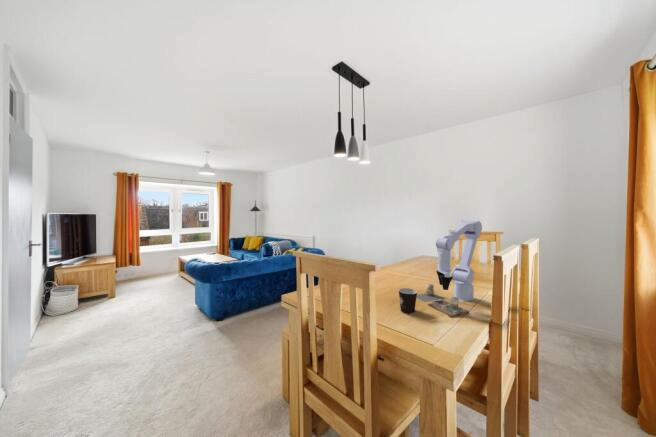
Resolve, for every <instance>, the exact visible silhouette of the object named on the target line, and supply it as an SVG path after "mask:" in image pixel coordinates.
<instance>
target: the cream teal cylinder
mask: <svg viewBox="0 0 656 437" xmlns="http://www.w3.org/2000/svg"><path fill="white" fill-rule="evenodd" d="M452 296H453V295H450V296H449V297H448V302H449V309H451V310H453V311H457V310H458V307H459V300H458V298H457V297H452Z"/></svg>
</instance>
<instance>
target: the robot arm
mask: <svg viewBox="0 0 656 437" xmlns="http://www.w3.org/2000/svg"><path fill="white" fill-rule="evenodd" d="M482 225H483V224H482V223H481V221H480V220H476V221H475V220H463V219H462V220H460V221H459V223H458V226H457V228H456V229H455V230H450V231H449V232H448V233H447V234H445V235H444V236H443V237H439V238H437V240H436V241H435V242H436V243H435V247H436V249H437V252H438V253H437V255H438V258H437V260H438V261H437V268H435V271H436V274H437V277H438V278H437V279H438V282H439V285H440V286H441V287H442V290H444V291H448V290H449V288H450V284H451V281H453V283H454V292H453V295H451V296H452V297H457V298H458V301H460V302H467V301H468V302H469V301H475V298H474V295H475V294H474V291H475V290H474V286H473V282H474V279H475V278H474V277H475V274H474V272H475V271H474V270H473V269H472V268H471V265H472V264H471V263H472V260H473V257H474V252H475V248H476V244H477V241H478V239H479V238H480V237H481V233H482V230H483V226H482ZM462 235H463V236H464V237H465V238H466V239H465V242H464V247H463V250H462V253H461V258H460V260H459V264H456V265H455V266H453V267H454V268H453V269H452V270H451V259H452V258H451V253H452V250H453V248H454V246H455V243H456V242H457V241H458V240H460V237H461V236H462Z"/></svg>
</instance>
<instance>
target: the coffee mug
mask: <svg viewBox="0 0 656 437" xmlns="http://www.w3.org/2000/svg"><path fill="white" fill-rule="evenodd" d="M417 295H418V291H417V290H416V289H414V288H409V287H401V288H399V289H398V297H399V308H400V312H401V313H403V314H408V315H410V314H413V313H415V310H416V302H417V298H416V297H417Z"/></svg>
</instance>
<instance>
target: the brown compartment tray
mask: <svg viewBox="0 0 656 437" xmlns="http://www.w3.org/2000/svg"><path fill="white" fill-rule="evenodd" d="M427 306H428V307H430V308H433V309H434V310H437V311H438V312H441V313H442V314H444V315H447V317H449V318H453V317H457V316H463V315H467V314H470V310H467V309H465V308H462V307H461V306H458V310H457V311H453V310H451V309H449V301H446V300H445V299H439V300H433V301H431V303H427Z"/></svg>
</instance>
